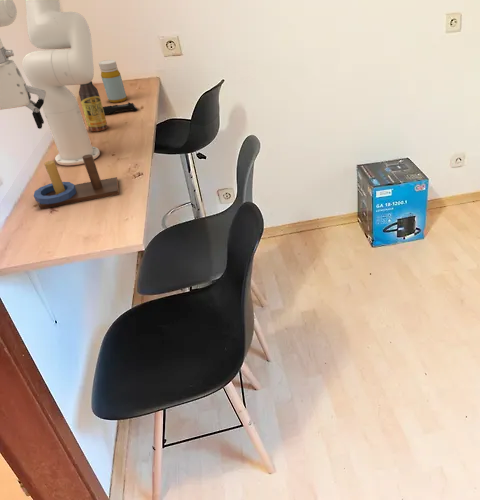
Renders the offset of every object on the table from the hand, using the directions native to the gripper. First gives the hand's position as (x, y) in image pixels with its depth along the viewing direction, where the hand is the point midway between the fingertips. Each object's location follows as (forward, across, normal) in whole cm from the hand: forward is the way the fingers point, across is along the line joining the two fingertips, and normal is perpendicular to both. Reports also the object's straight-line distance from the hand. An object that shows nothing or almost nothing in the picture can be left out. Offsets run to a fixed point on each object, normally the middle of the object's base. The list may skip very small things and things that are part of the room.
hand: (18, 130), depth 124 cm
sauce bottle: (+21, -13, -50) cm, 56 cm away
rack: (+19, -8, +1) cm, 21 cm away
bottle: (+22, -20, -82) cm, 87 cm away
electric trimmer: (+21, -19, -66) cm, 72 cm away
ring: (+18, -3, +2) cm, 18 cm away
